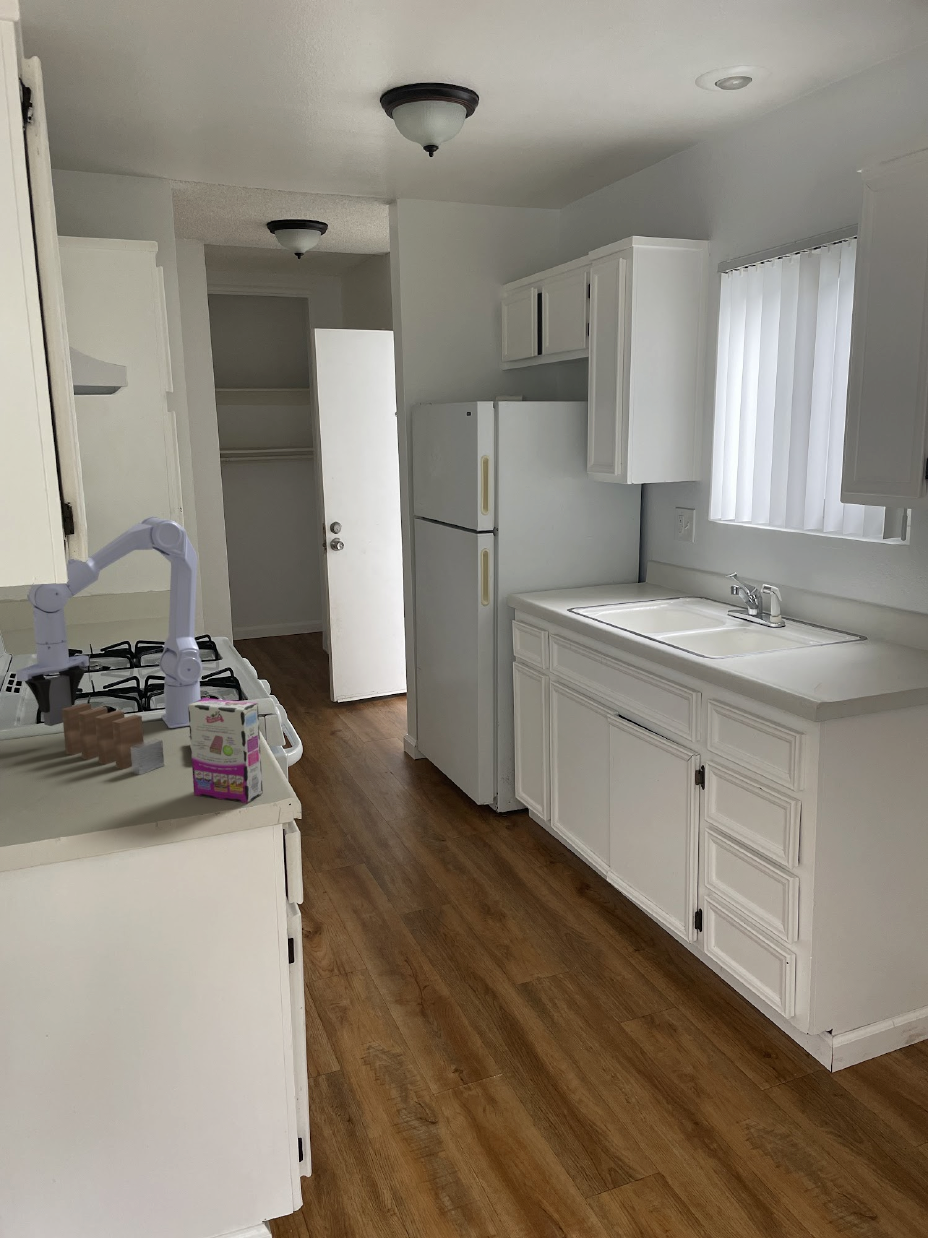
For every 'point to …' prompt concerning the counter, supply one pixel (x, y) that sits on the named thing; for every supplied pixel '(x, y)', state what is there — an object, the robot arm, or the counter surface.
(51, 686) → the domino
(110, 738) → the domino
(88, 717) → the domino
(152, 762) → the block
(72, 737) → the domino
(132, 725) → the domino
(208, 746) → the candy bar box
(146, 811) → the counter surface
